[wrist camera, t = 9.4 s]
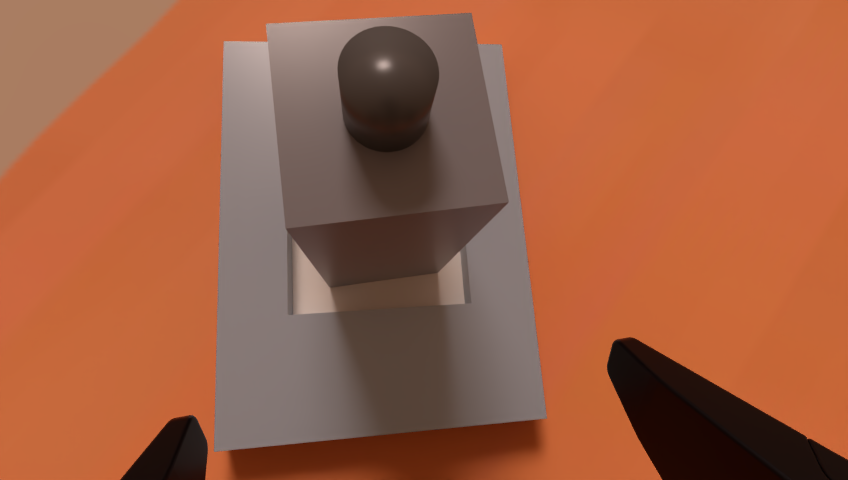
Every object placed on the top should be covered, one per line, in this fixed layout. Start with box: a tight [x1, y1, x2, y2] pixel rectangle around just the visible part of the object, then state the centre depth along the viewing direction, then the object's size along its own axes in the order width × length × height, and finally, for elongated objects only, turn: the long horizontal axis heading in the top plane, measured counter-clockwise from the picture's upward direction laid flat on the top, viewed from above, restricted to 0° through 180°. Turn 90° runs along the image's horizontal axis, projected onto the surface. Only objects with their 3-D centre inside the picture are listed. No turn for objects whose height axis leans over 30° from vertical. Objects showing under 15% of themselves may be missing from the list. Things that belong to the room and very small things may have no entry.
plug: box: [266, 13, 509, 288], centre depth 14 cm, size 4×4×12 cm
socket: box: [214, 41, 547, 452], centre depth 19 cm, size 16×12×2 cm
